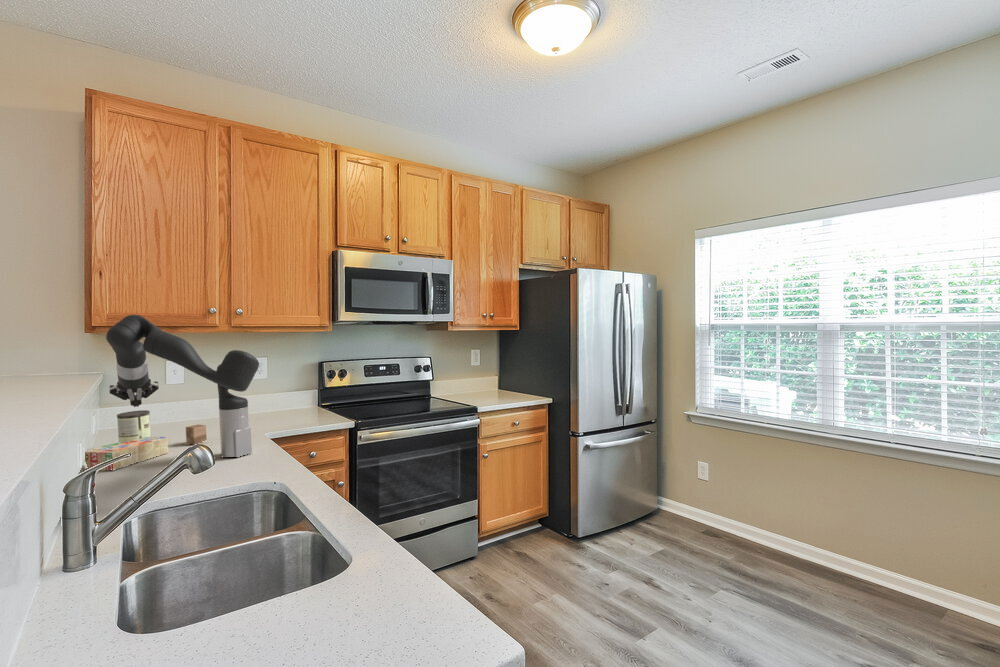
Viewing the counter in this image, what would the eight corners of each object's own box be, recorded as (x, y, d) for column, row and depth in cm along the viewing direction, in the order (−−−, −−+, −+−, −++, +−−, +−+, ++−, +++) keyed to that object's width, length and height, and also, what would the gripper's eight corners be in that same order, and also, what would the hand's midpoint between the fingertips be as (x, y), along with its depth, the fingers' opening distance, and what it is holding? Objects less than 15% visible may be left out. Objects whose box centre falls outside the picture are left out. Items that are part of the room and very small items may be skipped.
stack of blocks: (168, 453, 184) (141, 452, 186) (167, 436, 183) (140, 436, 186) (112, 471, 163) (82, 470, 165) (111, 452, 162) (81, 451, 165)
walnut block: (206, 442, 199) (205, 425, 199) (194, 445, 194) (193, 427, 194) (198, 441, 201) (198, 424, 201) (186, 444, 197) (185, 427, 196)
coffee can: (122, 447, 195) (120, 412, 194) (153, 443, 199) (152, 409, 199) (115, 453, 185) (113, 416, 185) (148, 449, 190) (146, 413, 189)
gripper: (104, 381, 143) (110, 416, 153) (159, 377, 150) (161, 411, 161) (104, 362, 147) (110, 397, 157) (158, 358, 155) (160, 393, 165)
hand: (136, 404), depth 159 cm, fingers closed
